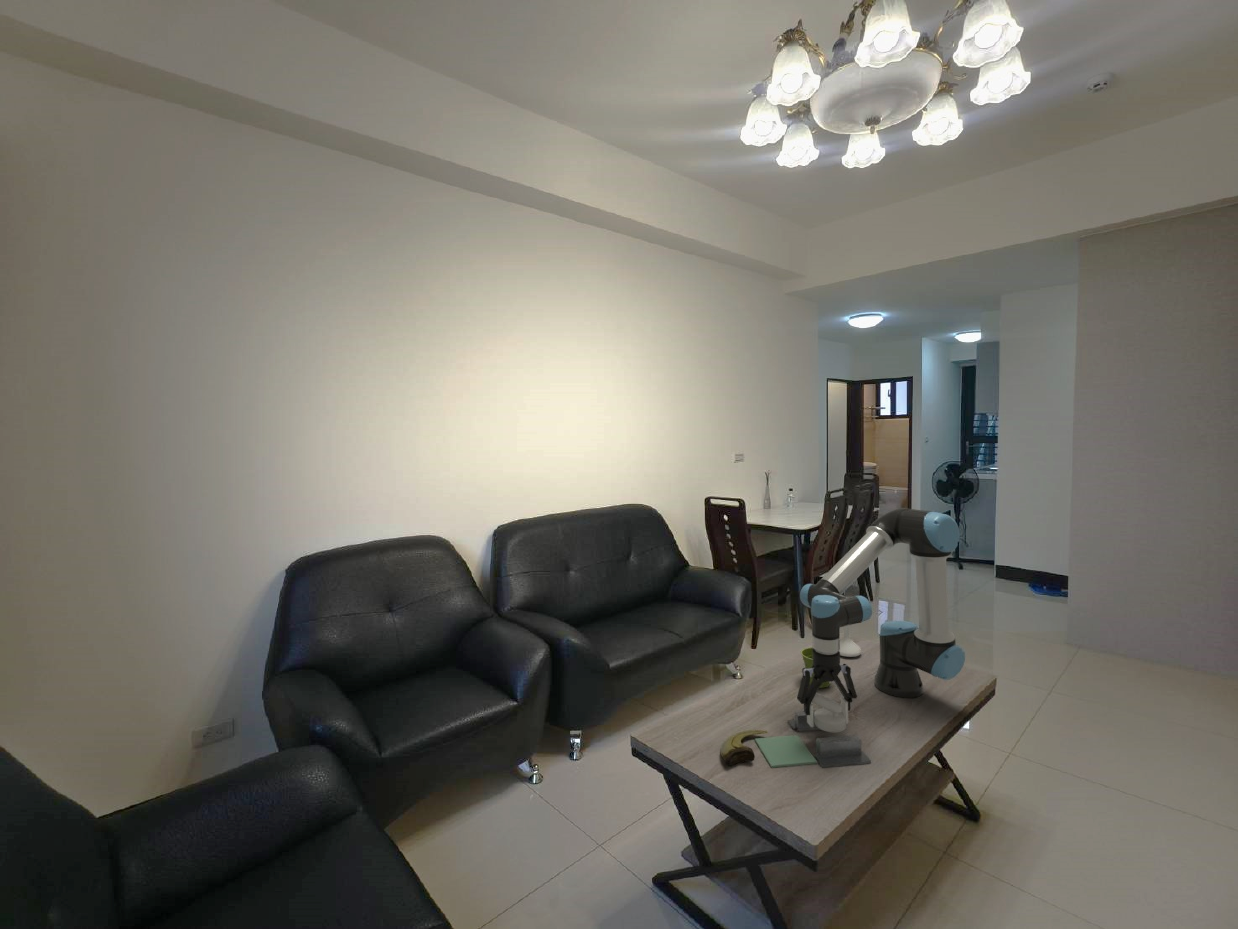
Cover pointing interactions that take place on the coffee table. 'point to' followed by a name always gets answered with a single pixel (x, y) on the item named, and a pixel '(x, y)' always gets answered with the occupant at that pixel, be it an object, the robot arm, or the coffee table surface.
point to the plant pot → (811, 664)
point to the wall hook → (828, 714)
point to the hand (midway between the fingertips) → (827, 722)
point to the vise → (832, 745)
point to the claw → (738, 748)
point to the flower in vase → (848, 645)
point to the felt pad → (785, 751)
